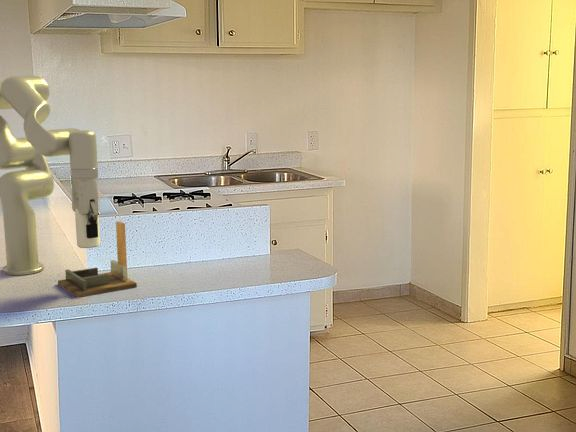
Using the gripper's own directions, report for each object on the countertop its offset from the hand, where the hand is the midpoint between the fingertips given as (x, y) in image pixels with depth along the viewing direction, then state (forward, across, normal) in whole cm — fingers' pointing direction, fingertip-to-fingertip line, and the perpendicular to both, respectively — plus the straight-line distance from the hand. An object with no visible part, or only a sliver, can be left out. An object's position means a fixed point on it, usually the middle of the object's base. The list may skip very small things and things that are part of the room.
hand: (88, 235), depth 226 cm
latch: (+14, 0, +9) cm, 17 cm away
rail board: (+16, 0, +1) cm, 16 cm away
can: (+3, 0, 0) cm, 3 cm away
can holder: (+14, 0, -1) cm, 14 cm away
